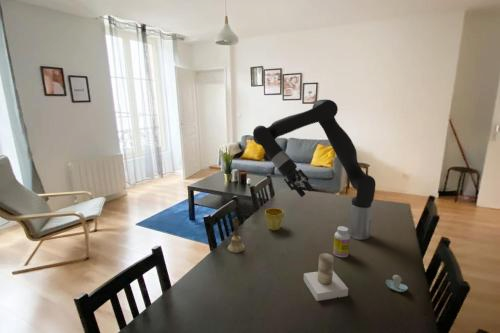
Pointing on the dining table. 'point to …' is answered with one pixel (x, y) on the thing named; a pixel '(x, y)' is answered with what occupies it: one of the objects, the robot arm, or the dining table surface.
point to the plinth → (325, 287)
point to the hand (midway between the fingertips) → (307, 192)
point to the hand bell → (236, 239)
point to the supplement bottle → (341, 242)
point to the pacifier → (396, 284)
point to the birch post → (325, 268)
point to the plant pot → (274, 218)
